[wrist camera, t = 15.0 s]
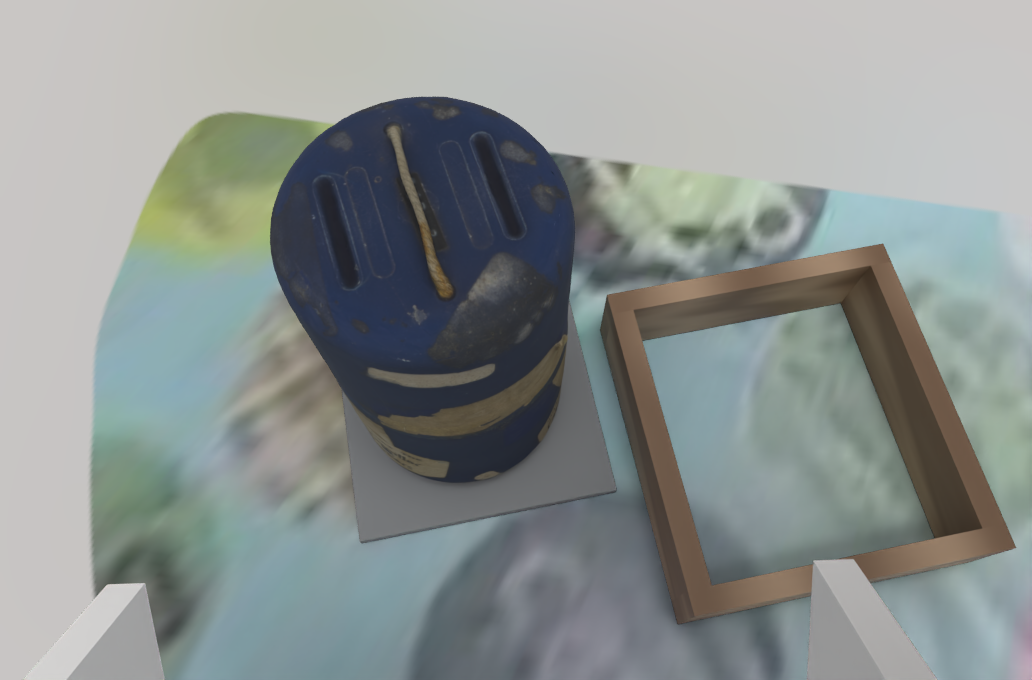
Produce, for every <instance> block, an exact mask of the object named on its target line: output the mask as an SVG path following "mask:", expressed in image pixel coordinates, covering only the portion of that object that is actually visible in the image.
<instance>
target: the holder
mask: <svg viewBox="0 0 1032 680" xmlns="http://www.w3.org/2000/svg"><path fill="white" fill-rule="evenodd" d="M838 303H841V304H842V307H843V309H844V312H845V314H846V317H847V319H848V322H849V324H850V327H851V329H852V332H853V334H854V337H855V339H856V342H857V344H858V347H859V349H860V352H861V354H862V357H863V359H864V362H865V364H866V367H867V369H868V372H869V374H870V377H871V379H872V382H873V384H874V387H875V389H876V392H877V394H878V397H879V399H880V402H881V404H882V407H883V409H884V412H885V414H886V417H887V419H888V422H889V424H890V427H891V429H892V432H893V434H894V437H895V439H896V442H897V444H898V447H899V449H900V452H901V454H902V457H903V459H904V462H905V464H906V467H907V469H908V472H909V474H910V477H911V479H912V482H913V484H914V487H915V489H916V492H917V494H918V497H919V499H920V502H921V504H922V507H923V509H924V512H925V514H926V517H927V519H928V522H929V524H930V527H931V529H932V532H933V534H934V537H935V539H930V540H925V541H921V542H916V543H911V544H906V545H902V546H897V547H892V548H888V549H883V550H878V551H873V552H869V553H864V554H859V555H854V556H850V557H845V558H840V559H835V560H841V559H854V560H855V562H856V563H857V565H858V566H859V568H860V569H861V570H862V572H863V573H864V575H865V576H866V578H867V579H868V581H869V582H870V583H874V582H879V581H883V580H888V579H893V578H897V577H902V576H907V575H911V574H916V573H921V572H925V571H930V570H935V569H939V568H944V567H949V566H954V565H958V564H963V563H968V562H971V561H974V560H978V559H981V558H984V557H988V556H991V555H994V554H998V553H1001V552H1004V551H1008V550H1011V549H1014V548H1016V546H1015V544H1014V542H1013V540H1012V537H1011V535H1010V533H1009V530H1008V528H1007V526H1006V523H1005V521H1004V519H1003V517H1002V514H1001V512H1000V510H999V507H998V505H997V503H996V501H995V498H994V496H993V494H992V491H991V489H990V487H989V485H988V482H987V480H986V478H985V475H984V473H983V471H982V469H981V466H980V464H979V462H978V459H977V457H976V455H975V453H974V450H973V448H972V446H971V443H970V441H969V439H968V437H967V434H966V432H965V430H964V427H963V425H962V423H961V421H960V418H959V416H958V414H957V411H956V409H955V407H954V405H953V402H952V400H951V398H950V395H949V393H948V391H947V389H946V386H945V384H944V382H943V379H942V377H941V375H940V373H939V370H938V368H937V366H936V363H935V361H934V359H933V357H932V354H931V352H930V350H929V347H928V345H927V343H926V340H925V338H924V336H923V334H922V331H921V329H920V327H919V324H918V322H917V320H916V318H915V315H914V313H913V311H912V308H911V306H910V304H909V302H908V299H907V297H906V295H905V292H904V290H903V288H902V286H901V283H900V281H899V279H898V276H897V274H896V272H895V270H894V267H893V265H892V263H891V260H890V258H889V256H888V254H887V251H886V249H885V247H884V244H879V245H873V246H868V247H862V248H857V249H852V250H846V251H841V252H836V253H830V254H825V255H819V256H814V257H809V258H803V259H798V260H792V261H787V262H782V263H776V264H771V265H766V266H760V267H755V268H749V269H744V270H739V271H733V272H728V273H722V274H717V275H712V276H706V277H701V278H696V279H690V280H685V281H679V282H674V283H669V284H663V285H658V286H652V287H647V288H642V289H636V290H631V291H626V292H620V293H615V294H609V295H607V298H606V303H605V308H604V313H603V318H602V324H601V329H600V331H601V335H602V339H603V343H604V346H605V350H606V354H607V358H608V362H609V365H610V369H611V373H612V377H613V381H614V384H615V388H616V392H617V396H618V400H619V403H620V407H621V411H622V415H623V419H624V422H625V426H626V430H627V434H628V438H629V441H630V445H631V449H632V453H633V457H634V460H635V464H636V468H637V472H638V475H639V479H640V483H641V487H642V491H643V494H644V498H645V502H646V506H647V510H648V513H649V517H650V521H651V525H652V529H653V532H654V536H655V540H656V544H657V548H658V551H659V555H660V559H661V563H662V567H663V570H664V574H665V578H666V582H667V586H668V589H669V593H670V597H671V601H672V605H673V608H674V612H675V616H676V620H677V623H678V624H682V623H687V622H691V621H696V620H701V619H706V618H710V617H715V616H720V615H724V614H729V613H734V612H738V611H743V610H748V609H752V608H757V607H762V606H766V605H771V604H776V603H780V602H785V601H790V600H794V599H799V598H804V597H808V596H811V593H812V574H813V564H812V565H807V566H802V567H798V568H793V569H788V570H783V571H779V572H774V573H769V574H764V575H760V576H755V577H750V578H745V579H741V580H736V581H731V582H726V583H722V584H717V585H711V581H710V578H709V574H708V571H707V567H706V563H705V560H704V556H703V553H702V549H701V546H700V542H699V539H698V535H697V532H696V528H695V525H694V521H693V518H692V514H691V511H690V507H689V504H688V500H687V497H686V493H685V490H684V486H683V483H682V479H681V476H680V472H679V469H678V465H677V462H676V458H675V455H674V451H673V448H672V444H671V441H670V437H669V433H668V430H667V426H666V423H665V419H664V416H663V412H662V409H661V405H660V402H659V398H658V395H657V391H656V388H655V384H654V381H653V377H652V374H651V370H650V367H649V363H648V360H647V356H646V353H645V349H644V346H643V342H642V341H643V340H649V339H654V338H659V337H664V336H670V335H675V334H680V333H686V332H691V331H696V330H701V329H707V328H712V327H717V326H722V325H728V324H733V323H738V322H743V321H749V320H754V319H759V318H765V317H770V316H775V315H780V314H786V313H791V312H796V311H801V310H807V309H812V308H817V307H822V306H828V305H833V304H838Z"/></svg>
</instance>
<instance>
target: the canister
mask: <svg viewBox="0 0 1032 680" xmlns="http://www.w3.org/2000/svg"><path fill="white" fill-rule="evenodd" d="M574 241H575V221H574V212H573V207H572V202H571V198H570V195H569V191H568V188H567V185H566V183H565V181H564V179H563V177H562V174H561V172H560V170H559V168H558V167H557V165H556V163H555V162H554V160H553V158H552V157H551V156H550V154H549V153H548V152H547V151H546V149H545V148H544V147H543V146H542V145H541V144H540V143H539V142H538V141H537V140H536V139H535V138H534V137H533V136H532V135H531V134H530V133H528V132H527V131H526V130H525V129H524V128H522V127H521V126H520V125H518V124H517V123H515V122H514V121H512V120H511V119H509V118H507V117H505V116H504V115H502V114H500V113H497V112H496V111H494V110H491V109H489V108H486V107H483V106H480V105H477V104H474V103H471V102H467V101H463V100H458V99H453V98H448V97H414V98H413V97H412V98H404V99H397V100H393V101H389V102H385V103H380V104H377V105H375V106H372V107H369V108H366V109H363V110H361V111H359V112H356V113H354V114H352V115H350V116H348V117H347V118H344V119H342V120H341V121H339V122H338V123H337V124H335V125H334V126H332V127H330V128H328V129H327V130H326V131H324V132H323V133H322V134H320V135H319V136H318V137H317V138H316V139H315V140H314V141H313V142H312V143H311V144H310V145H308V146H307V147H306V149H305V150H304V151H303V152H302V154H301V155H300V156H299V158H298V159H297V160H296V162H295V163H294V164H293V166H292V167H291V168H290V170H289V172H288V174H287V175H286V177H285V179H284V181H283V183H282V185H281V187H280V190H279V192H278V195H277V198H276V201H275V204H274V207H273V212H272V217H271V229H270V245H271V254H272V259H273V265H274V269H275V272H276V275H277V278H278V281H279V283H280V285H281V288H282V290H283V292H284V294H285V296H286V298H287V300H288V302H289V304H290V306H291V308H292V309H293V311H294V312H295V314H296V316H297V317H298V319H299V321H300V323H301V324H302V326H303V327H304V329H305V330H306V332H307V333H308V335H309V337H310V338H311V340H312V341H313V343H314V345H315V346H316V348H317V349H318V351H319V352H320V354H321V356H322V357H323V359H324V360H325V362H326V363H327V365H328V366H329V368H330V370H331V371H332V373H333V374H334V376H335V378H336V379H337V381H338V383H339V385H340V387H341V389H342V391H343V392H344V394H345V395H346V397H347V398H348V400H349V401H350V403H351V405H352V406H353V408H354V410H355V411H356V413H357V414H358V416H359V418H360V419H361V420H362V422H363V423H364V425H365V426H366V428H367V430H368V431H369V433H370V434H371V436H372V437H373V439H374V440H375V442H376V443H377V444H378V446H379V447H380V448H381V449H382V450H383V451H384V452H385V453H386V454H387V455H388V456H389V457H390V458H391V459H392V460H393V461H395V462H396V463H397V464H398V465H400V466H402V467H403V468H405V469H407V470H408V471H410V472H412V473H415V474H417V475H419V476H422V477H425V478H428V479H431V480H436V481H441V482H449V483H465V482H473V481H480V480H484V479H488V478H491V477H494V476H496V475H499V474H501V473H503V472H505V471H507V470H508V469H510V468H512V467H513V466H515V465H517V464H518V463H519V462H521V461H522V460H524V459H525V458H526V457H527V456H528V455H529V454H530V453H531V452H532V451H533V450H534V449H535V448H536V447H537V445H538V444H539V443H540V442H541V441H542V439H543V438H544V436H545V435H546V433H547V431H548V429H549V427H550V425H551V423H552V421H553V419H554V416H555V413H556V411H557V407H558V403H559V398H560V392H561V385H562V378H563V373H564V365H565V356H566V347H567V340H568V305H569V294H570V285H571V274H572V263H573V254H574Z"/></svg>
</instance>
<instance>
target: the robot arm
mask: <svg viewBox="0 0 1032 680" xmlns="http://www.w3.org/2000/svg"><path fill="white" fill-rule="evenodd" d="M23 680H165V678H164V673H163V668H162V664H161V659H160V654H159V649H158V644H157V639H156V634H155V629H154V625H153V620H152V615H151V610H150V605H149V600H148V595H147V591H146V586H145V583H138V584H109V585H106V587H105V588H104V589H103V590H102V591H101V592H100V593H99V594H98V596H97V597H96V598H95V599H94V600H93V601H92V602H91V603H90V604H89V606H88V607H87V608H86V609H85V610H84V611H83V612H82V613H81V615H80V616H79V617H78V618H77V619H76V620H75V621H74V622H73V624H72V625H71V626H70V627H69V628H68V629H67V630H66V631H65V633H64V634H63V635H62V636H61V637H60V638H59V639H58V640H57V642H56V643H55V644H54V645H53V646H52V647H51V648H50V650H49V651H48V652H47V653H46V654H45V655H44V656H43V657H42V658H41V660H40V661H39V662H38V663H37V664H36V665H35V666H34V667H33V669H32V670H31V671H30V672H29V673H28V674H27V675H26V676H25V678H24V679H23ZM807 680H937V678H936V677H935V675H934V674H933V672H932V671H931V670H930V668H929V667H928V665H927V664H926V662H925V661H924V660H923V658H922V657H921V655H920V654H919V652H918V651H917V649H916V648H915V647H914V645H913V644H912V642H911V641H910V639H909V638H908V637H907V635H906V634H905V632H904V631H903V629H902V628H901V626H900V625H899V624H898V622H897V621H896V619H895V618H894V616H893V615H892V614H891V612H890V611H889V609H888V608H887V606H886V605H885V604H884V602H883V601H882V599H881V598H880V596H879V595H878V593H877V592H876V591H875V589H874V588H873V586H872V585H871V583H870V582H869V581H868V579H867V578H866V576H865V575H864V573H863V572H862V570H861V569H860V568H859V566H858V565H857V563H856V562H855V560H854V559H841V560H813V574H812V593H811V611H810V630H809V648H808V666H807Z"/></svg>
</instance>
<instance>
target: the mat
mask: <svg viewBox="0 0 1032 680" xmlns="http://www.w3.org/2000/svg"><path fill="white" fill-rule="evenodd" d="M342 397H343V405H344V414H345V422H346V430H347V439H348V447H349V455H350V464H351V472H352V480H353V489H354V497H355V506H356V514H357V522H358V531H359V539H360V542H361V543H366V542H371V541H376V540H381V539H386V538H390V537H395V536H400V535H405V534H410V533H415V532H420V531H425V530H430V529H435V528H440V527H445V526H450V525H455V524H460V523H465V522H470V521H475V520H480V519H485V518H490V517H495V516H499V515H504V514H509V513H514V512H519V511H524V510H529V509H534V508H539V507H544V506H549V505H554V504H559V503H564V502H569V501H574V500H579V499H584V498H589V497H594V496H599V495H604V494H608V493H613V492H616V490H617V489H616V485H615V481H614V477H613V473H612V469H611V465H610V461H609V457H608V453H607V449H606V445H605V441H604V437H603V433H602V429H601V425H600V421H599V417H598V413H597V409H596V405H595V401H594V397H593V393H592V389H591V385H590V381H589V377H588V373H587V369H586V365H585V361H584V357H583V353H582V349H581V345H580V341H579V337H578V333H577V329H576V325H575V321H574V317H573V313H572V309H571V305H570V301H569V305H568V340H567V347H566V356H565V365H564V373H563V378H562V385H561V392H560V398H559V403H558V407H557V411H556V413H555V416H554V419H553V421H552V423H551V425H550V427H549V429H548V431H547V433H546V435H545V436H544V438H543V439H542V441H541V442H540V443H539V444H538V445H537V447H536V448H535V449H534V450H533V451H532V452H531V453H530V454H529V455H528V456H527V457H526V458H525V459H524V460H522V461H521V462H519V463H518V464H517V465H515V466H513V467H512V468H510V469H508V470H507V471H505V472H503V473H501V474H499V475H496V476H494V477H491V478H488V479H484V480H480V481H473V482H465V483H449V482H441V481H436V480H431V479H428V478H425V477H422V476H419V475H417V474H415V473H412V472H410V471H408V470H407V469H405V468H403V467H402V466H400V465H398V464H397V463H396V462H395V461H393V460H392V459H391V458H390V457H389V456H388V455H387V454H386V453H385V452H384V451H383V450H382V449H381V448H380V447H379V446H378V444H377V443H376V442H375V440H374V439H373V437H372V436H371V434H370V433H369V431H368V430H367V428H366V426H365V425H364V423H363V422H362V420H361V419H360V418H359V416H358V414H357V413H356V411H355V410H354V408H353V406H352V405H351V403H350V401H349V400H348V398H347V397H346V395H345V394H344V392H343V391H342Z"/></svg>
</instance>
